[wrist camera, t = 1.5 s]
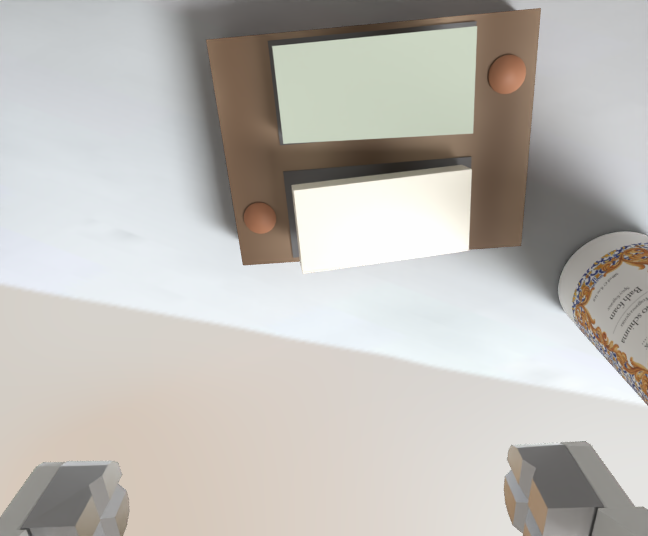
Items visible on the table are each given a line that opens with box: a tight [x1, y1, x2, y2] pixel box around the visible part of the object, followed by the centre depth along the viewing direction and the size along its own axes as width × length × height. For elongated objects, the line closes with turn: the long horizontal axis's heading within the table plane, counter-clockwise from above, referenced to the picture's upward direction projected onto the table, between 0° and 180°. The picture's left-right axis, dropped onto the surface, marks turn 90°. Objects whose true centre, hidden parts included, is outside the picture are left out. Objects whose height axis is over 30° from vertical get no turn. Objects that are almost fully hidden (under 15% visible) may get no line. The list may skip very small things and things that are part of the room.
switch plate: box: [206, 8, 541, 265], centre depth 27 cm, size 16×12×4 cm
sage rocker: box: [272, 26, 477, 144], centre depth 23 cm, size 9×4×1 cm, turn 95°
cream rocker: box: [291, 165, 472, 274], centre depth 25 cm, size 9×4×1 cm, turn 95°
